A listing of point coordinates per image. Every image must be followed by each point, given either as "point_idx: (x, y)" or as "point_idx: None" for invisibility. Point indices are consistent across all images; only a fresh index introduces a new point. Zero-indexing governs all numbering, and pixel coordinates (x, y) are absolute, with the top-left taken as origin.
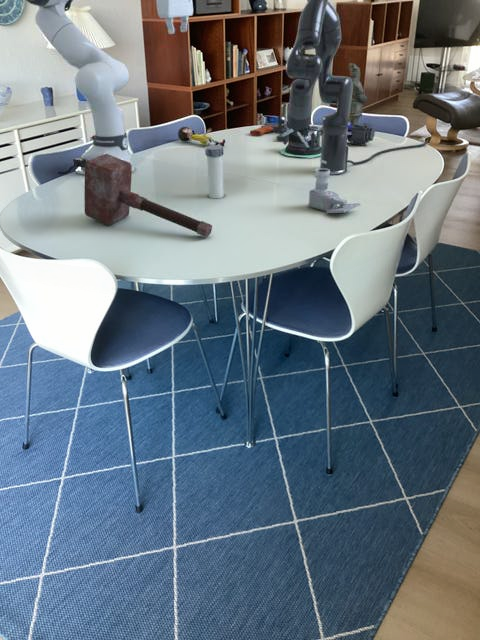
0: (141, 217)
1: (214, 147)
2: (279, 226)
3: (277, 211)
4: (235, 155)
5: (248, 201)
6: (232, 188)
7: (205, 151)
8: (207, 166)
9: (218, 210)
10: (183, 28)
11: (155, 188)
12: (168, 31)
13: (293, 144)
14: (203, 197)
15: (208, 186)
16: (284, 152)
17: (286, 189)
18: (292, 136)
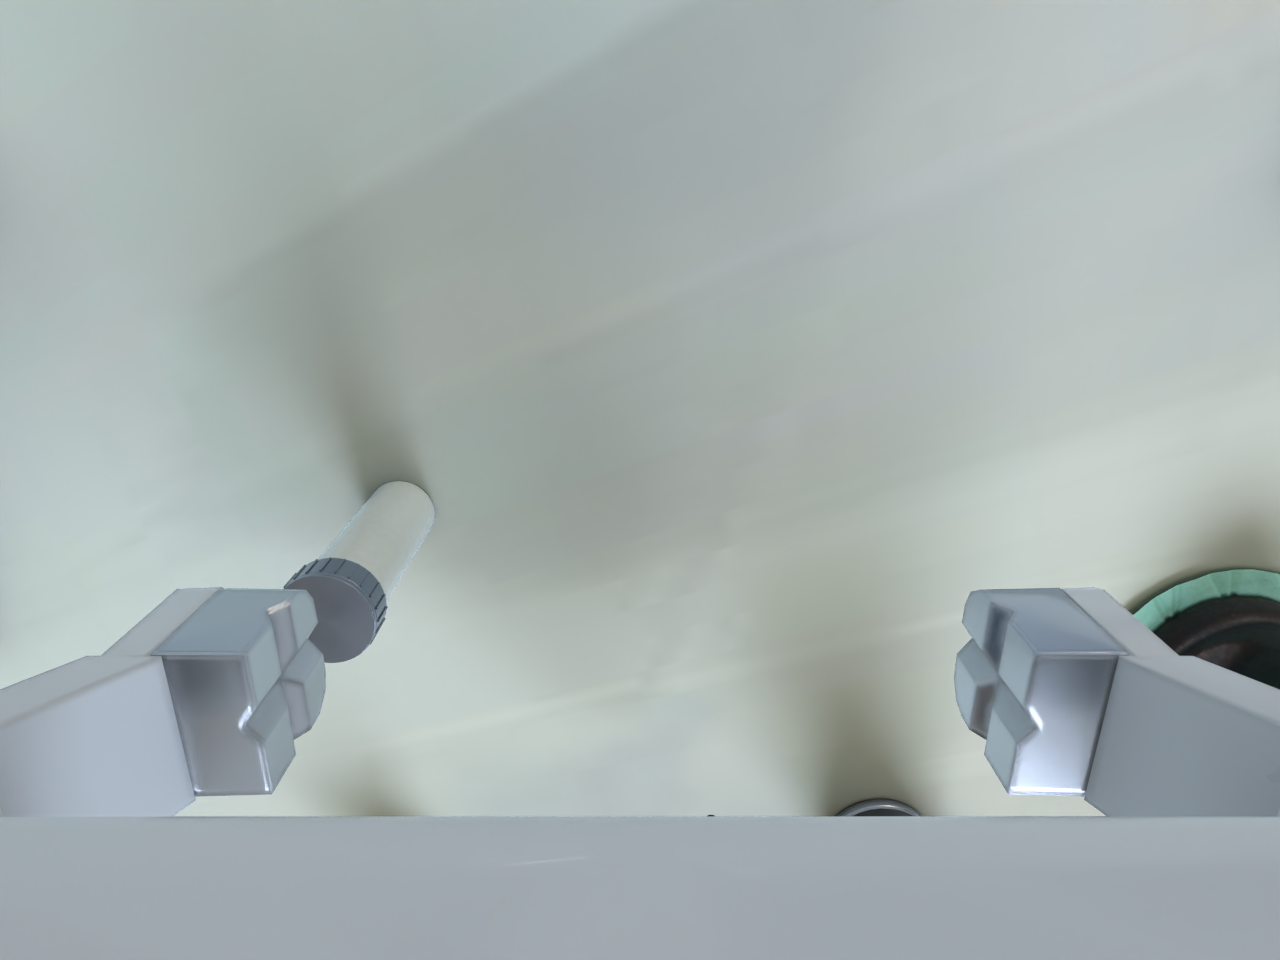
0: (11, 316)
1: (321, 623)
2: (191, 804)
3: (324, 767)
4: (1135, 356)
5: (387, 650)
6: (528, 540)
7: (296, 574)
8: (335, 541)
9: (240, 580)
10: (987, 712)
11: (399, 175)
12: (164, 609)
13: None
14: (363, 466)
15: (367, 502)
16: (1181, 602)
17: (583, 738)
18: (1263, 675)
